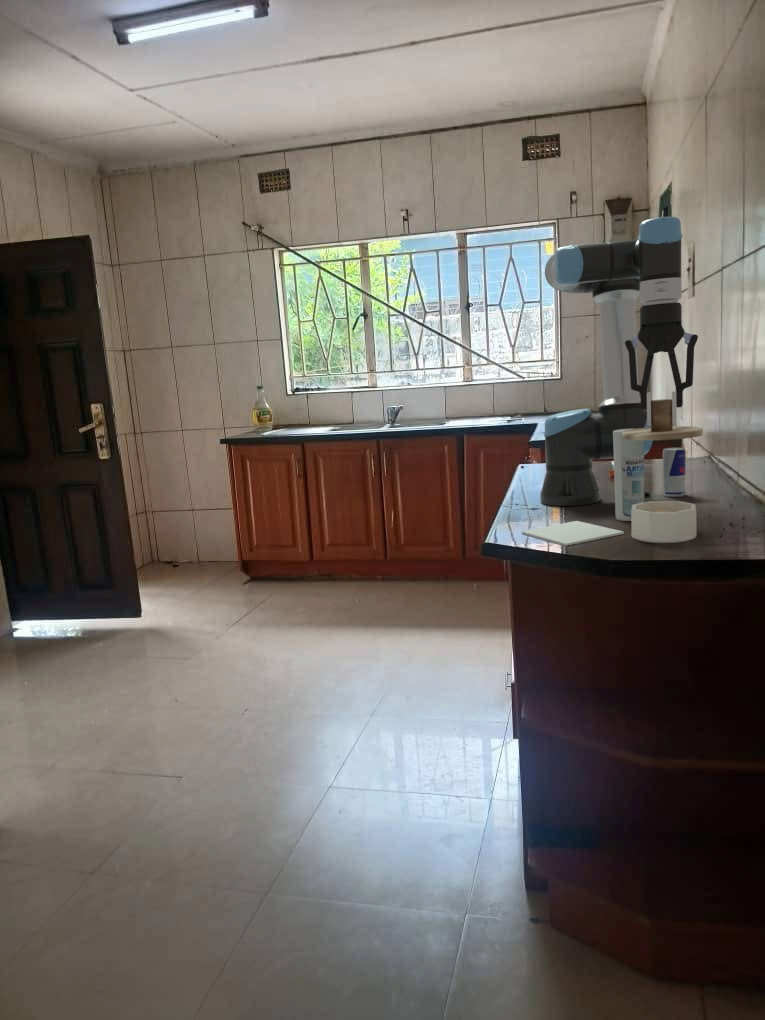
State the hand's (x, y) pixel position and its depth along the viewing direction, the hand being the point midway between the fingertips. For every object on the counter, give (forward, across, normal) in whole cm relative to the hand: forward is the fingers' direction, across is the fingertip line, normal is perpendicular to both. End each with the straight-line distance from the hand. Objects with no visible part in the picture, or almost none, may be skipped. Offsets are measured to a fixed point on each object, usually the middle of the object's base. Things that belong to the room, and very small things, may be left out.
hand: (661, 424), depth 148 cm
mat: (+23, -18, +1) cm, 29 cm away
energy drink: (+23, +3, +44) cm, 49 cm away
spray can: (+23, -7, +17) cm, 29 cm away
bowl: (+23, 0, 0) cm, 23 cm away
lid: (+2, 0, 0) cm, 2 cm away
